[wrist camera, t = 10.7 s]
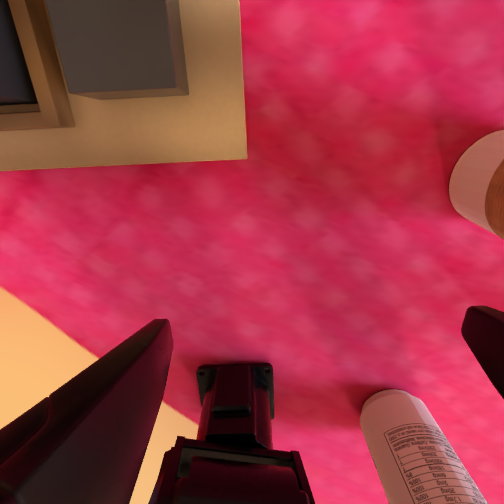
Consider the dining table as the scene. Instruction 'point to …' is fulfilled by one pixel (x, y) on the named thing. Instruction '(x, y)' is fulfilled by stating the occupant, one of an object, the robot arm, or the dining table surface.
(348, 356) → the dining table surface
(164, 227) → the dining table surface
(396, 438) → the energy drink can
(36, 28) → the backing board
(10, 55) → the dark rectangular block
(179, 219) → the dining table surface
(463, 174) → the coffee cup
